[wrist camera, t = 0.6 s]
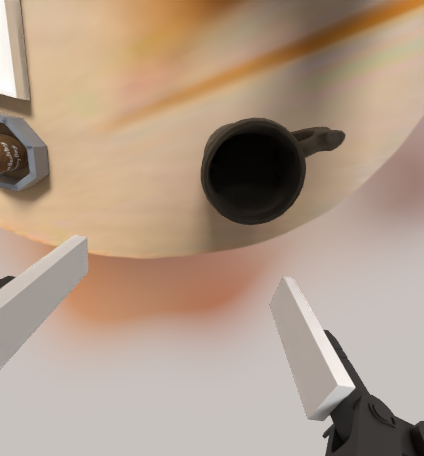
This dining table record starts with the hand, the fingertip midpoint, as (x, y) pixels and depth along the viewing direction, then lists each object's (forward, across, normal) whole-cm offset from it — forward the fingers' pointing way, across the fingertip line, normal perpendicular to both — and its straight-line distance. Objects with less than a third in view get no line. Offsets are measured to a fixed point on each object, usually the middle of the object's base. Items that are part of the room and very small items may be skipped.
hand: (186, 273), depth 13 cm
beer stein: (+27, +6, +8) cm, 29 cm away
